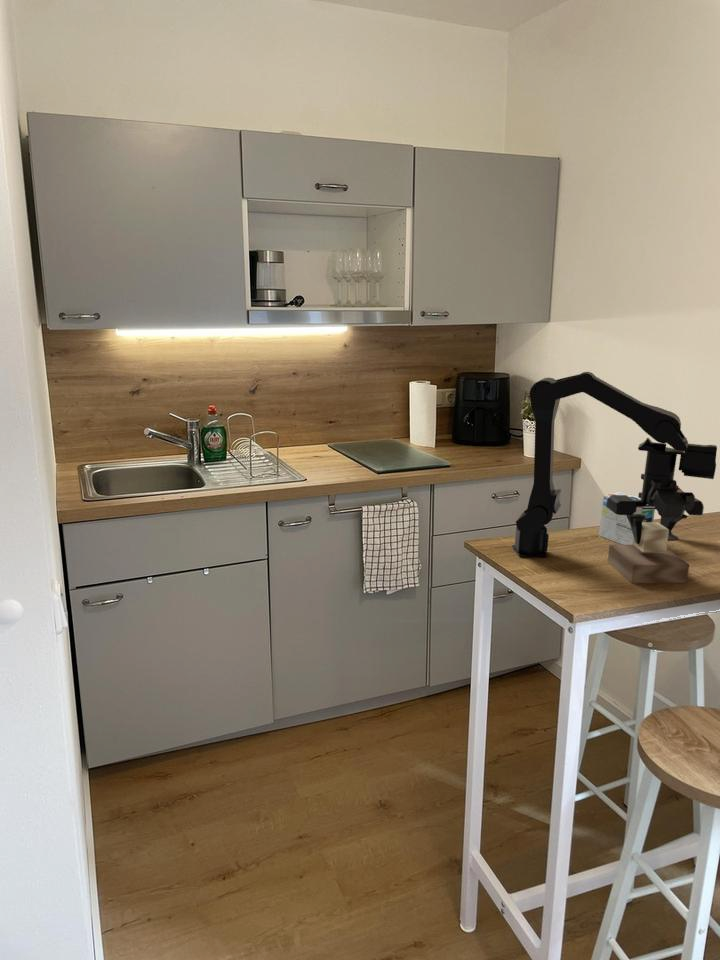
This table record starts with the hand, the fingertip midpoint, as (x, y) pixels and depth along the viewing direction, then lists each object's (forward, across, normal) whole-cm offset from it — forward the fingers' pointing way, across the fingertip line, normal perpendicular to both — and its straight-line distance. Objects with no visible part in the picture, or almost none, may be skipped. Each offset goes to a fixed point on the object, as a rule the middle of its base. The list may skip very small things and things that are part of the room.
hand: (649, 543), depth 155 cm
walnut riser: (+6, 0, 0) cm, 6 cm away
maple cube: (+1, 0, 0) cm, 1 cm away
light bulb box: (+7, +4, +20) cm, 22 cm away
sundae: (+7, +16, +22) cm, 28 cm away
